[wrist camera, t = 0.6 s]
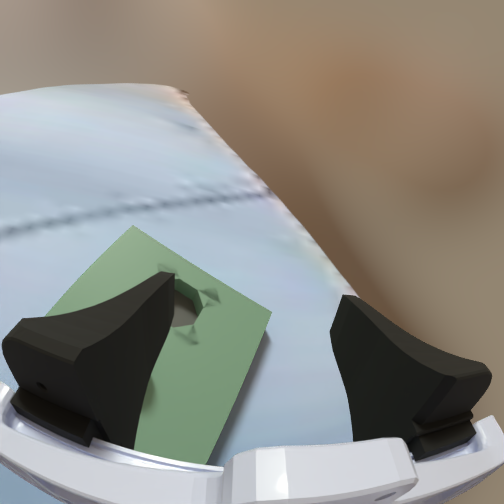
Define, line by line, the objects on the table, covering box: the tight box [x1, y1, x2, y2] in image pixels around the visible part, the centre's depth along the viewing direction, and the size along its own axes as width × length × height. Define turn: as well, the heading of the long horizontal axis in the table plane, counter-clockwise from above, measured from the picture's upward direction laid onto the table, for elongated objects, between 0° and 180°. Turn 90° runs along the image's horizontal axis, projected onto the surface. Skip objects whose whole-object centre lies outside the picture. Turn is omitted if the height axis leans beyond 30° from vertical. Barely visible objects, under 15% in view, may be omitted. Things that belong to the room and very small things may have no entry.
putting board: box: [45, 225, 272, 465], centre depth 23 cm, size 20×18×2 cm
